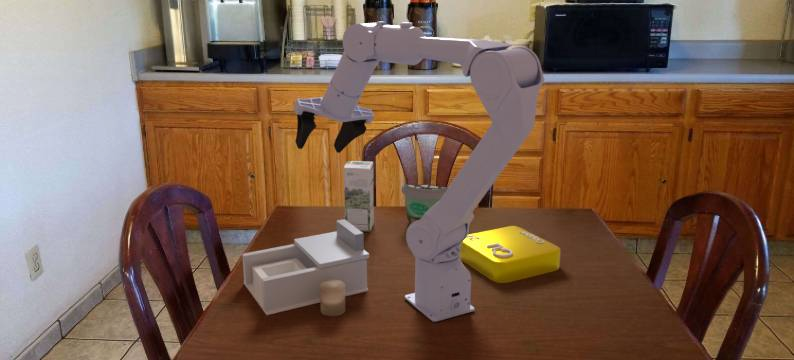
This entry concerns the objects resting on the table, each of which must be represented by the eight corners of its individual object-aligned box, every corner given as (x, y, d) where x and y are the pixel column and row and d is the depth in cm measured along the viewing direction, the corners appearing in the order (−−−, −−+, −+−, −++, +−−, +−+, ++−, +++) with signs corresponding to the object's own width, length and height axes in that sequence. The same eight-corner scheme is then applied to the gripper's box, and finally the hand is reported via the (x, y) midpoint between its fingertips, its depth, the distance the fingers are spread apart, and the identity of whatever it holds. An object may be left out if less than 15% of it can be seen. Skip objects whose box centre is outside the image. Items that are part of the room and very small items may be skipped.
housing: (367, 290, 110) (367, 259, 108) (266, 315, 101) (264, 282, 100) (337, 263, 120) (336, 235, 119) (243, 283, 112) (241, 253, 110)
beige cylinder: (349, 312, 102) (348, 287, 101) (326, 318, 100) (325, 292, 99) (339, 302, 106) (338, 277, 104) (316, 308, 104) (316, 282, 102)
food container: (394, 231, 137) (394, 187, 134) (402, 222, 142) (402, 179, 140) (450, 237, 133) (451, 192, 130) (456, 227, 139) (457, 184, 136)
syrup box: (374, 223, 142) (373, 160, 137) (370, 232, 136) (370, 167, 132) (349, 222, 142) (347, 159, 138) (344, 231, 136) (342, 166, 132)
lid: (369, 258, 108) (369, 237, 107) (320, 268, 104) (319, 247, 103) (340, 234, 119) (339, 215, 118) (294, 243, 115) (293, 223, 114)
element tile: (563, 270, 119) (565, 247, 117) (498, 287, 112) (499, 262, 111) (514, 243, 131) (515, 221, 130) (453, 256, 125) (453, 234, 123)
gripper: (375, 79, 113) (346, 136, 121) (300, 66, 105) (274, 128, 113) (389, 103, 109) (358, 161, 116) (312, 91, 101) (284, 154, 108)
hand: (318, 147), depth 114 cm, fingers open, 7 cm apart
